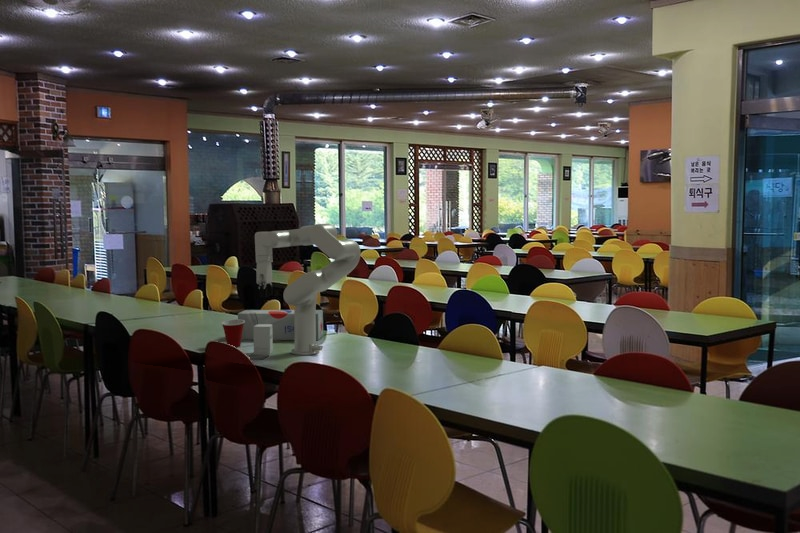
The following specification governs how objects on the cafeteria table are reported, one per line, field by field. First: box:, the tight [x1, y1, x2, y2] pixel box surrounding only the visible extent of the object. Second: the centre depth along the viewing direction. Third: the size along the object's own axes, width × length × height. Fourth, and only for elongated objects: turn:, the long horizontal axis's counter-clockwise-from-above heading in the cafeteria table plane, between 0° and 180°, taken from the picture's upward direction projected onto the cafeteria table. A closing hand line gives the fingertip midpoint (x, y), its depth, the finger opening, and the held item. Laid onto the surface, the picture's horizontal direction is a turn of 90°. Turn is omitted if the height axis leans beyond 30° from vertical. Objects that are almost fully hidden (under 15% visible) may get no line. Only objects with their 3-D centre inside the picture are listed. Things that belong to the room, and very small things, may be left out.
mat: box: [248, 353, 270, 361], centre depth 328 cm, size 9×8×1 cm
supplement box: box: [253, 324, 274, 356], centre depth 337 cm, size 7×7×13 cm
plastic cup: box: [220, 319, 245, 348], centre depth 353 cm, size 11×11×12 cm
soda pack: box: [237, 309, 324, 341], centre depth 376 cm, size 41×13×14 cm, turn 85°
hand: (266, 296), depth 345 cm, fingers open, 9 cm apart
